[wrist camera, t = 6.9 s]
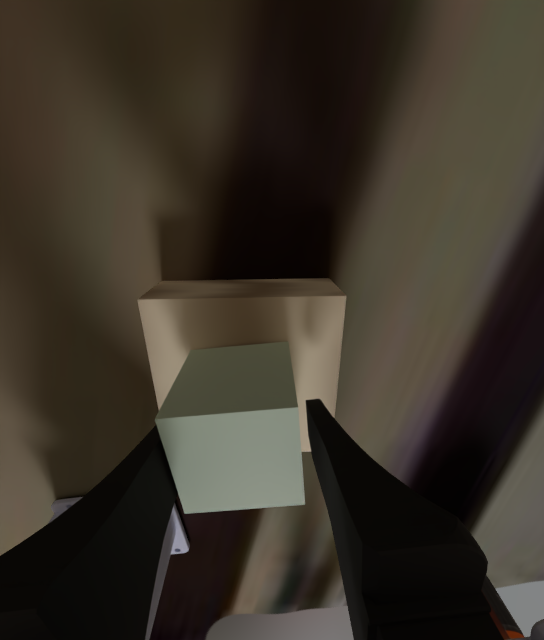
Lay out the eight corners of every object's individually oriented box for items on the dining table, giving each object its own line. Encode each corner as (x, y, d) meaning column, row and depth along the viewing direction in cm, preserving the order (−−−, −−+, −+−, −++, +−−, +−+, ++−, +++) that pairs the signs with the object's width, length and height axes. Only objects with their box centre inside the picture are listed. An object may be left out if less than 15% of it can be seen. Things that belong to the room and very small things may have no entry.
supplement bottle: (382, 545, 27) (459, 757, 17) (424, 508, 26) (540, 720, 15) (427, 562, 29) (525, 768, 18) (470, 528, 27) (605, 734, 16)
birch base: (183, 412, 21) (167, 456, 17) (163, 279, 17) (137, 299, 13) (318, 407, 21) (331, 450, 18) (327, 276, 17) (346, 295, 14)
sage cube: (208, 425, 16) (184, 513, 12) (190, 350, 14) (154, 419, 10) (294, 418, 16) (305, 504, 12) (288, 341, 14) (298, 407, 10)
